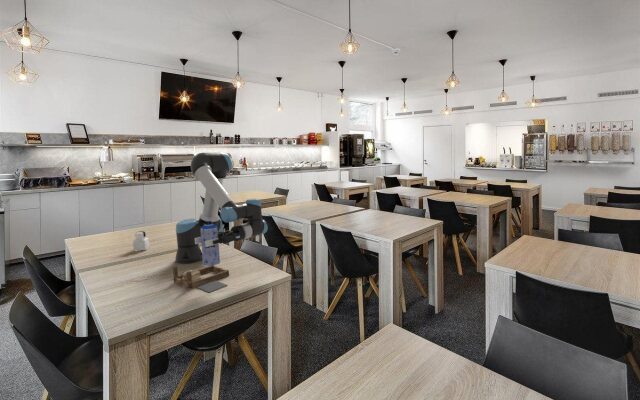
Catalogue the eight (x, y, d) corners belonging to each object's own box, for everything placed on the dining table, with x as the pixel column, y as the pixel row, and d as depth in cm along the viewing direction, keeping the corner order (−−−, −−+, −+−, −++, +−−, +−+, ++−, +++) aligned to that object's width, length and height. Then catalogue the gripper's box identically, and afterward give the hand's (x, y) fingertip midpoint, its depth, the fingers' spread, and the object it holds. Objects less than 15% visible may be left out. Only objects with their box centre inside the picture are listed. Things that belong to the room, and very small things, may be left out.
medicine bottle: (138, 248, 230) (136, 230, 229) (149, 247, 231) (147, 230, 229) (134, 251, 223) (132, 233, 222) (145, 250, 224) (143, 232, 222)
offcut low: (182, 283, 168) (182, 277, 168) (194, 279, 173) (193, 273, 172) (190, 286, 164) (189, 280, 163) (201, 282, 168) (201, 277, 168)
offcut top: (183, 278, 167) (182, 273, 167) (191, 274, 171) (190, 269, 171) (192, 279, 164) (192, 274, 164) (200, 276, 169) (200, 271, 168)
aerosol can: (202, 266, 156) (198, 223, 153) (203, 261, 164) (199, 220, 161) (220, 264, 158) (217, 222, 156) (220, 259, 166) (217, 218, 163)
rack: (174, 282, 168) (172, 266, 167) (213, 269, 185) (212, 255, 184) (189, 289, 160) (188, 272, 159) (229, 275, 177) (228, 260, 175)
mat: (196, 287, 161) (196, 286, 161) (215, 281, 169) (215, 280, 169) (208, 292, 155) (208, 292, 155) (227, 285, 163) (227, 284, 163)
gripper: (254, 242, 168) (214, 254, 150) (228, 236, 180) (188, 247, 163) (254, 227, 167) (213, 237, 149) (227, 222, 179) (187, 231, 161)
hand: (200, 242), depth 156 cm, fingers closed on aerosol can, 7 cm apart
